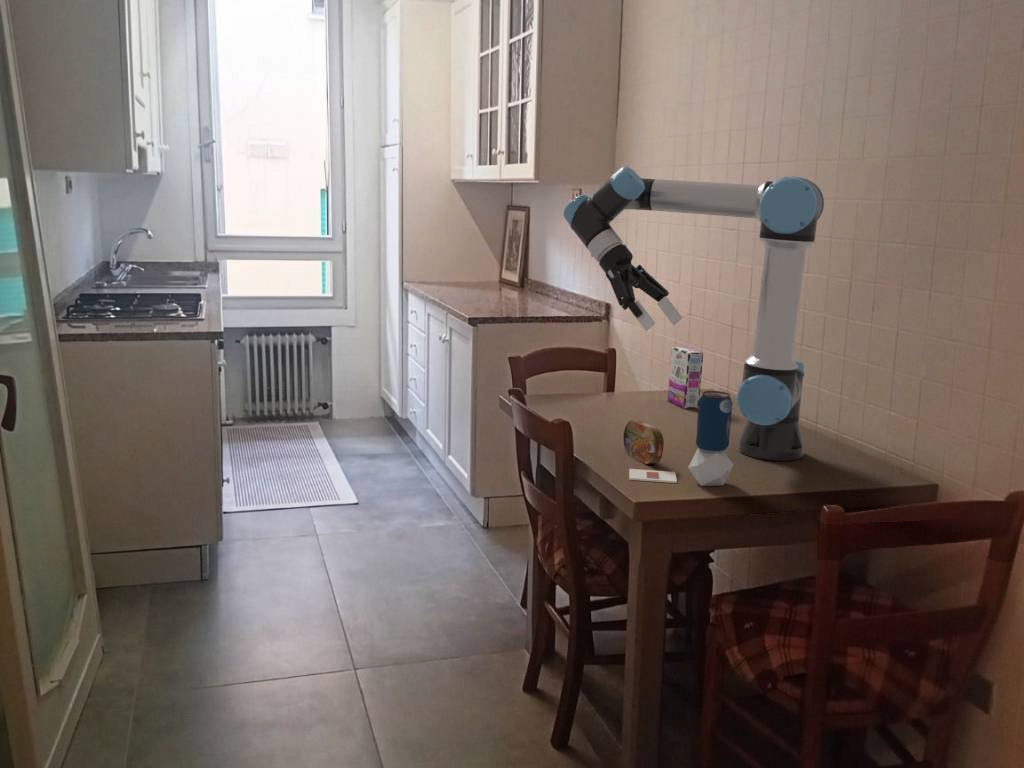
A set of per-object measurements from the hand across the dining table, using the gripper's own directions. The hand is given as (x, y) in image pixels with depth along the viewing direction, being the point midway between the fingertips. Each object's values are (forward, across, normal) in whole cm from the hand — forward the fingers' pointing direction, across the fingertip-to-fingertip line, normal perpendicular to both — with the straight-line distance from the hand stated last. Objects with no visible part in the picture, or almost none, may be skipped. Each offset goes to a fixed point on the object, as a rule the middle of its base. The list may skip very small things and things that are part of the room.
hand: (664, 324), depth 218 cm
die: (+35, +11, -9) cm, 38 cm away
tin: (+21, +4, -23) cm, 32 cm away
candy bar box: (+8, -55, -36) cm, 67 cm away
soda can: (+30, +11, -4) cm, 32 cm away
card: (+27, +16, -17) cm, 36 cm away
